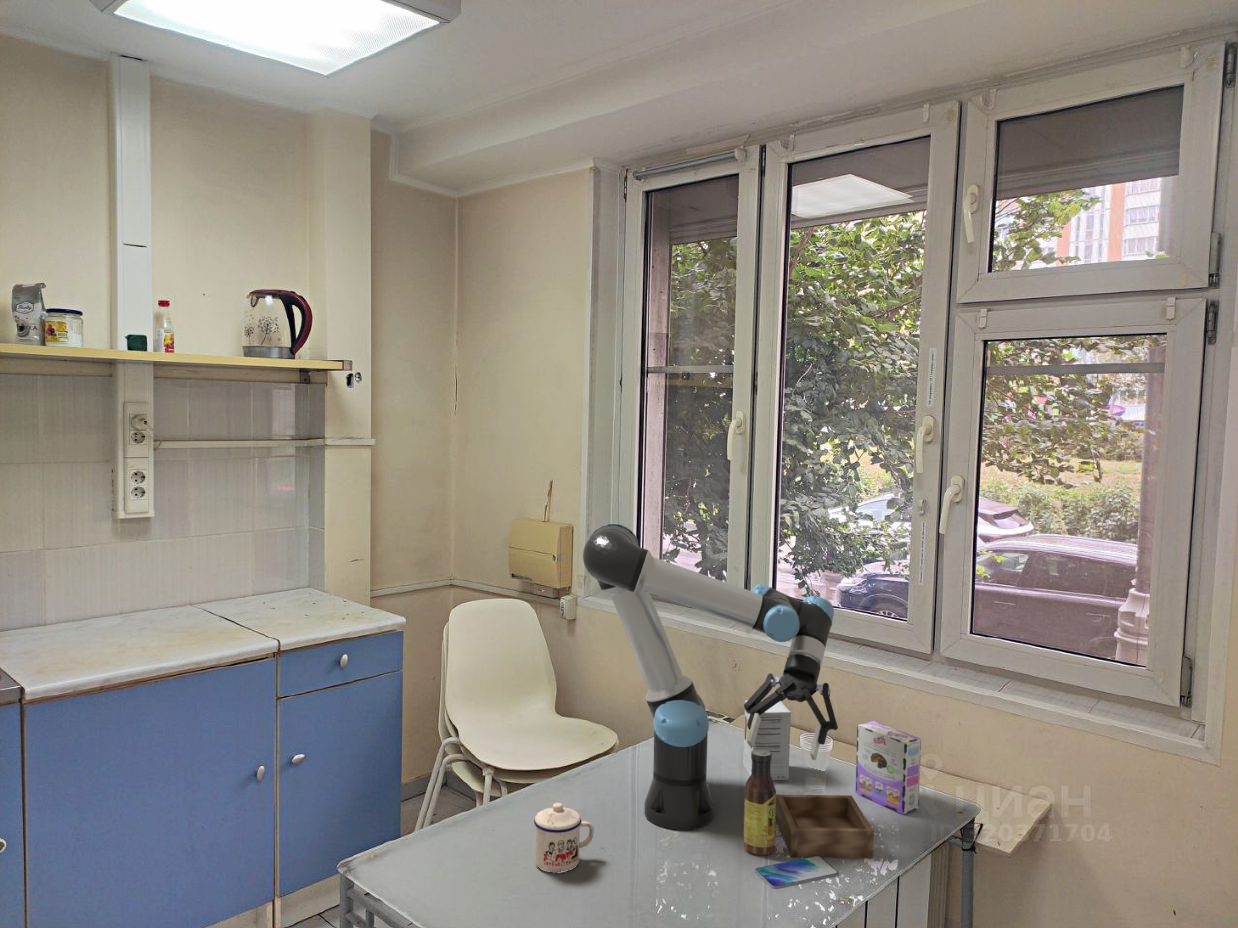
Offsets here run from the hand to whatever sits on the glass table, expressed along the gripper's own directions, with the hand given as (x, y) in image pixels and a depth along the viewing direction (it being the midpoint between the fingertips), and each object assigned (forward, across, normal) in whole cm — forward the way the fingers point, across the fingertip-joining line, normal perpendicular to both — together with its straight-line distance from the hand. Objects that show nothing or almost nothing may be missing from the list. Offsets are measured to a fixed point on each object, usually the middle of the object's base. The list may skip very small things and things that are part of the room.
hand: (780, 750), depth 186 cm
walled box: (+11, -9, -14) cm, 20 cm away
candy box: (-6, -16, -32) cm, 37 cm away
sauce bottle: (+19, +1, -6) cm, 20 cm away
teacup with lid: (+36, +32, +11) cm, 50 cm away
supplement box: (-7, +13, -33) cm, 36 cm away
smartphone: (+23, -8, -3) cm, 24 cm away
